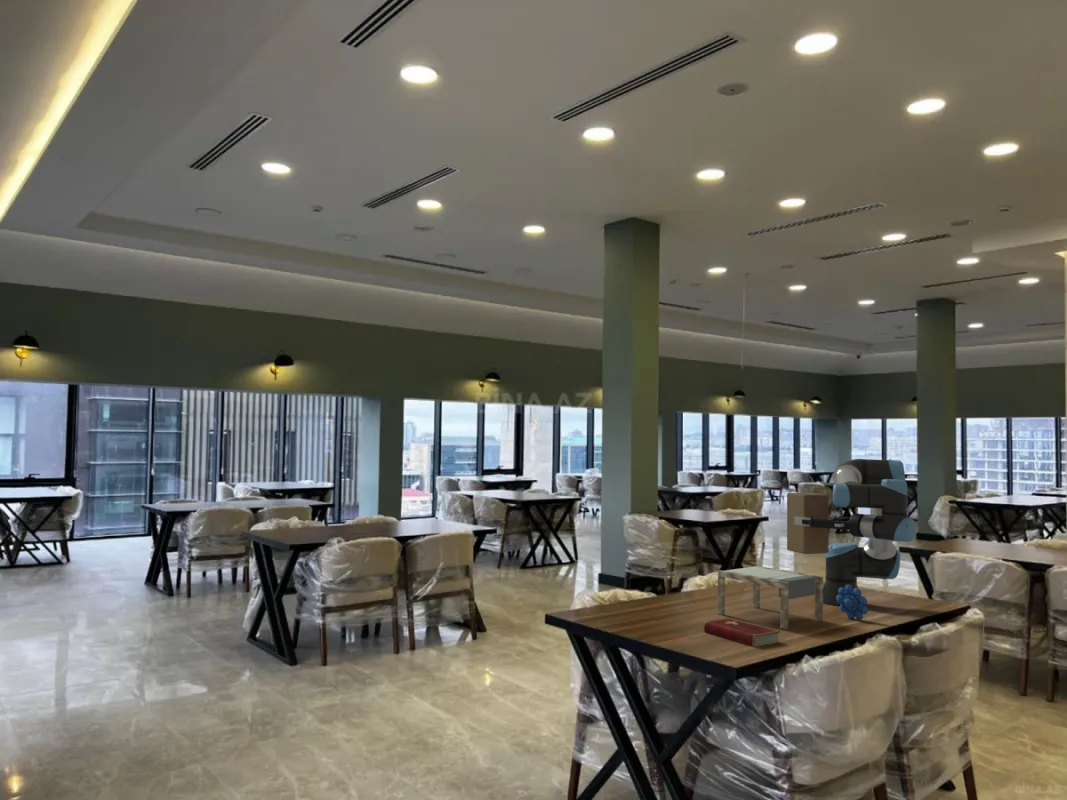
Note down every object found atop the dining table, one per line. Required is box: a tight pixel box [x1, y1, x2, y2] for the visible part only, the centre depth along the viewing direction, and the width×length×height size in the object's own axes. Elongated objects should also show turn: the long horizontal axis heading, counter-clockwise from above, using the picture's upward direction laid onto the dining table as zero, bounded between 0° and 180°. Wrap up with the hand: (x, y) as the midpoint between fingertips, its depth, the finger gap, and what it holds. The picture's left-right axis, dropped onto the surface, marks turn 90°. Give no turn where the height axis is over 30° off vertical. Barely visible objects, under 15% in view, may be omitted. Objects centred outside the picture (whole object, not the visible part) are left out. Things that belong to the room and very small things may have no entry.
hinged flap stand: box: [717, 565, 824, 630], centre depth 289 cm, size 28×23×16 cm
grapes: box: [836, 584, 869, 621], centre depth 290 cm, size 12×7×12 cm, turn 43°
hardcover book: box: [703, 617, 781, 648], centre depth 258 cm, size 12×21×4 cm, turn 33°
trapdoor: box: [725, 566, 815, 600], centre depth 289 cm, size 26×19×6 cm
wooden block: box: [786, 492, 830, 555], centre depth 280 cm, size 10×10×20 cm
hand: (805, 519), depth 281 cm, fingers closed on wooden block, 12 cm apart
